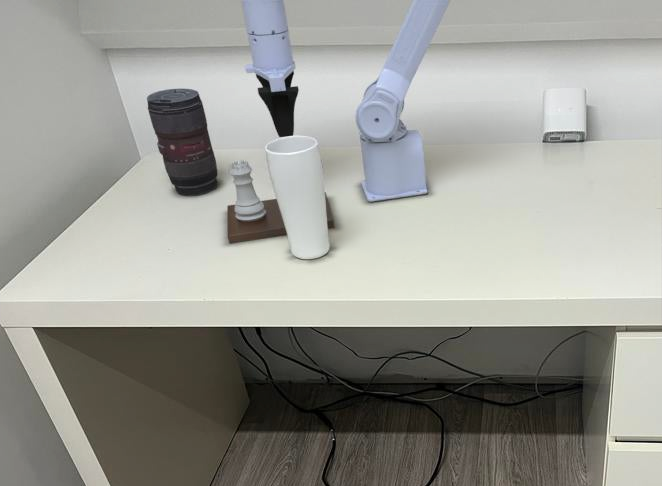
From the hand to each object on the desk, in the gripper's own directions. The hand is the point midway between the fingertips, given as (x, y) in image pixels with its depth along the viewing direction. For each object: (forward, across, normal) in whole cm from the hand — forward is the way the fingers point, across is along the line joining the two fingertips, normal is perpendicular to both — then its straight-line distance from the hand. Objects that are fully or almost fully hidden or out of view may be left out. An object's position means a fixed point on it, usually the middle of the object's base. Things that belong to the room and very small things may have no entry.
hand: (284, 127), depth 113 cm
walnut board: (+10, +10, -3) cm, 14 cm away
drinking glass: (+10, +22, 0) cm, 24 cm away
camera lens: (+11, -8, -16) cm, 21 cm away
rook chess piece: (+10, +10, -7) cm, 15 cm away
